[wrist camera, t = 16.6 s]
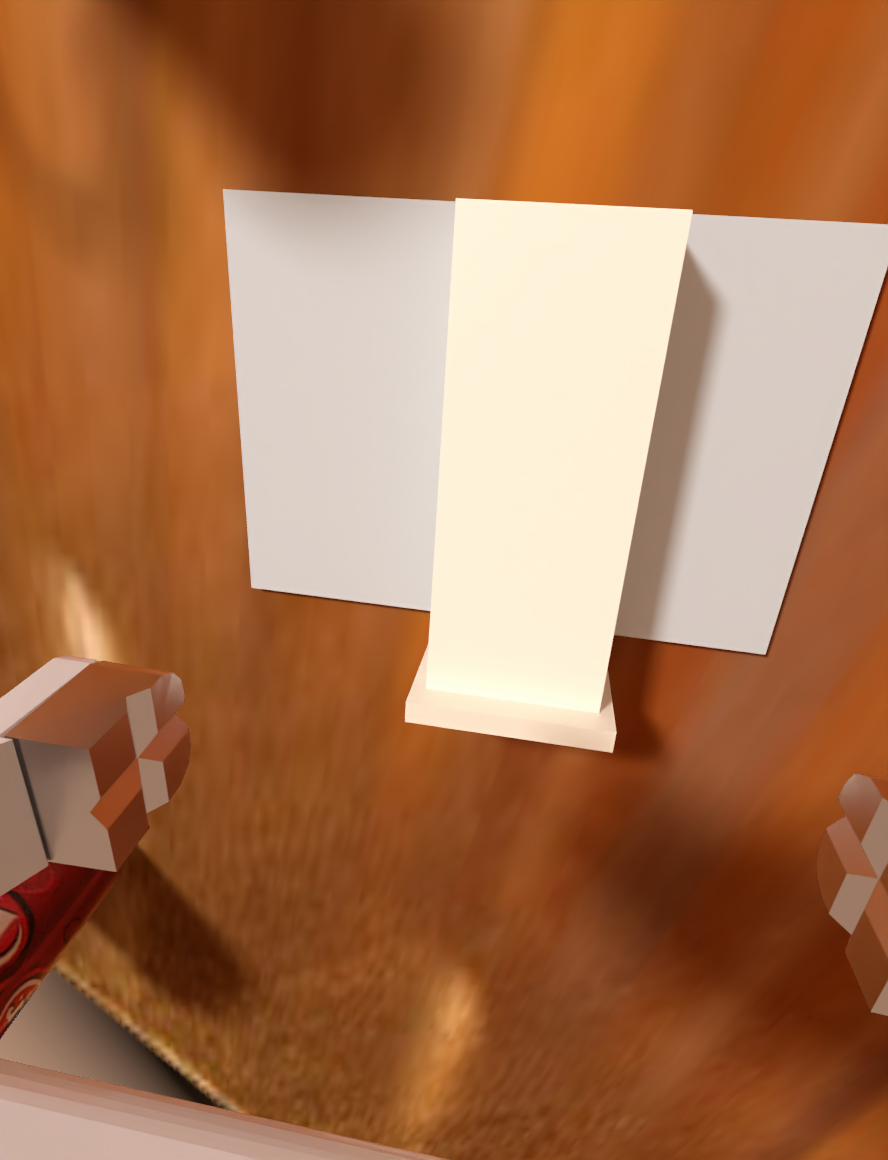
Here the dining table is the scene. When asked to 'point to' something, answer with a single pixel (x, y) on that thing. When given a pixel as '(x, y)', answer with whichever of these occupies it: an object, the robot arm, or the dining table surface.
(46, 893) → the soda can
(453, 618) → the menu stand
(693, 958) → the dining table surface
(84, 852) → the robot arm
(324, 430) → the mat
